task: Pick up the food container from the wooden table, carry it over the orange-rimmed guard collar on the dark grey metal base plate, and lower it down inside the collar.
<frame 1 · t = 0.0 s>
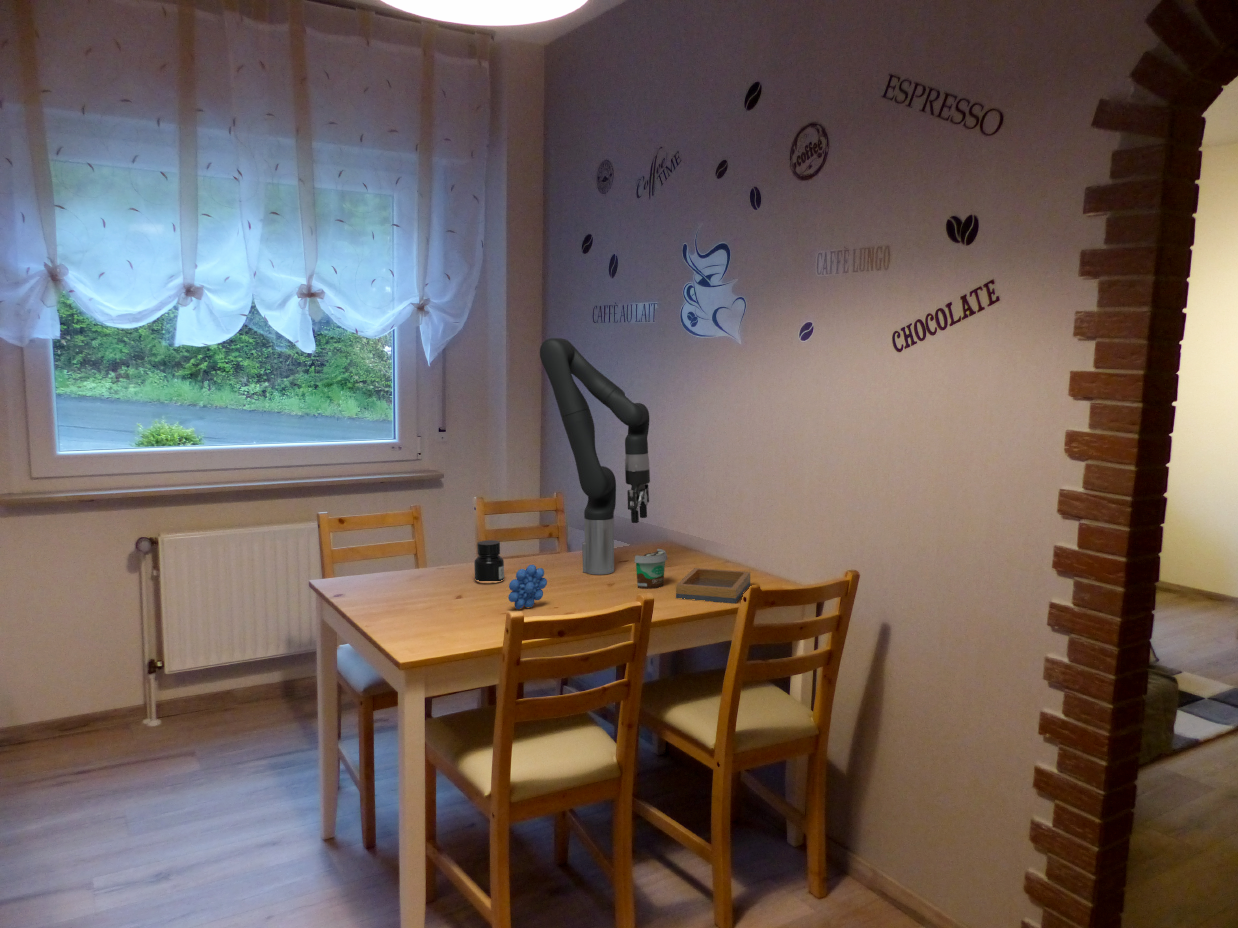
hand: (639, 520, 282), 17 cm above the table, tool pointing down, fingers open, 8 cm apart
food container: (655, 586, 270), on the table
ink bottle: (489, 581, 278), on the table
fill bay: (714, 591, 263), on the table
grapes: (526, 608, 249), on the table
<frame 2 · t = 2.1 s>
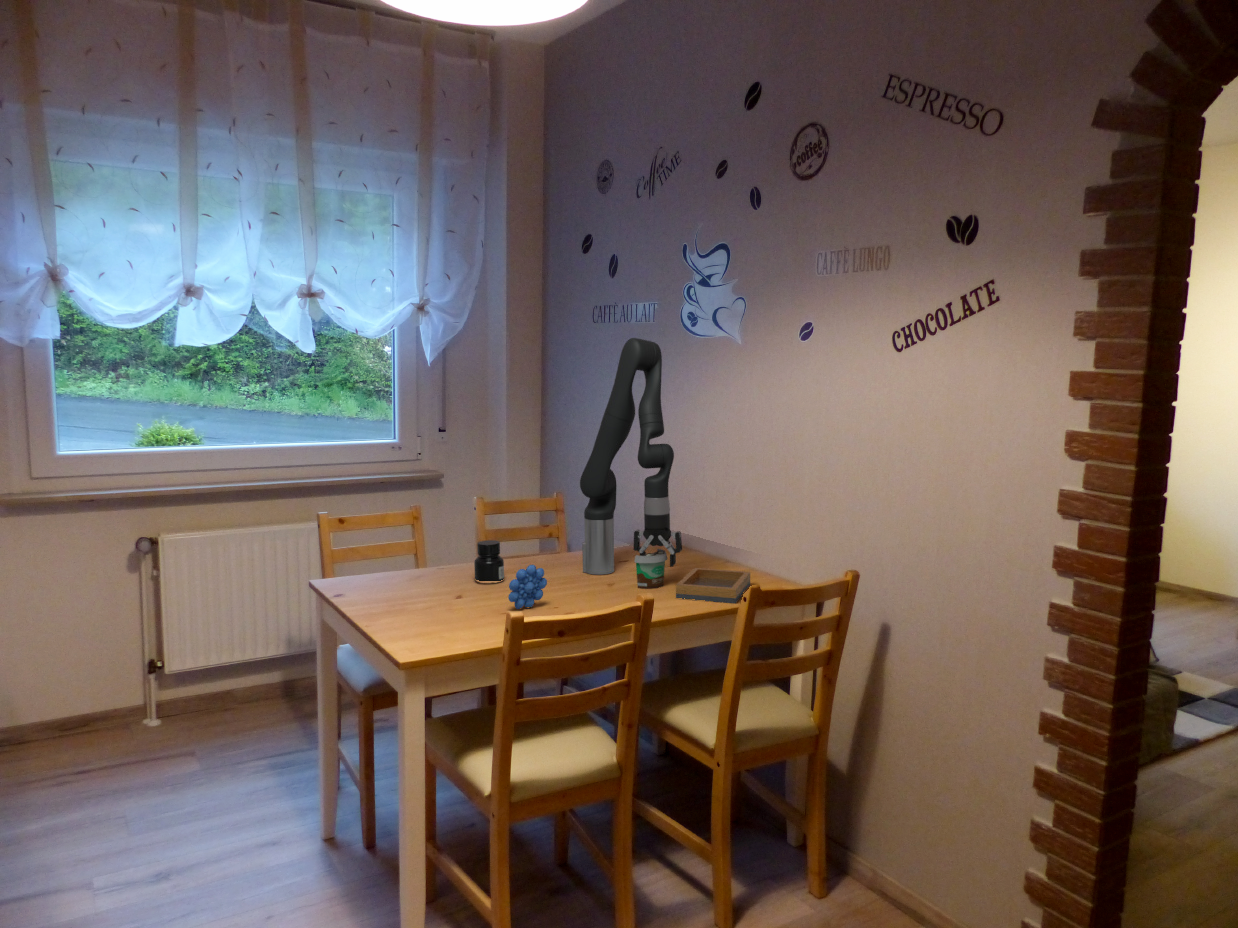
hand: (658, 565, 270), 6 cm above the table, tool pointing down, fingers open, 8 cm apart
food container: (655, 586, 270), on the table, touching gripper
everything else where it was.
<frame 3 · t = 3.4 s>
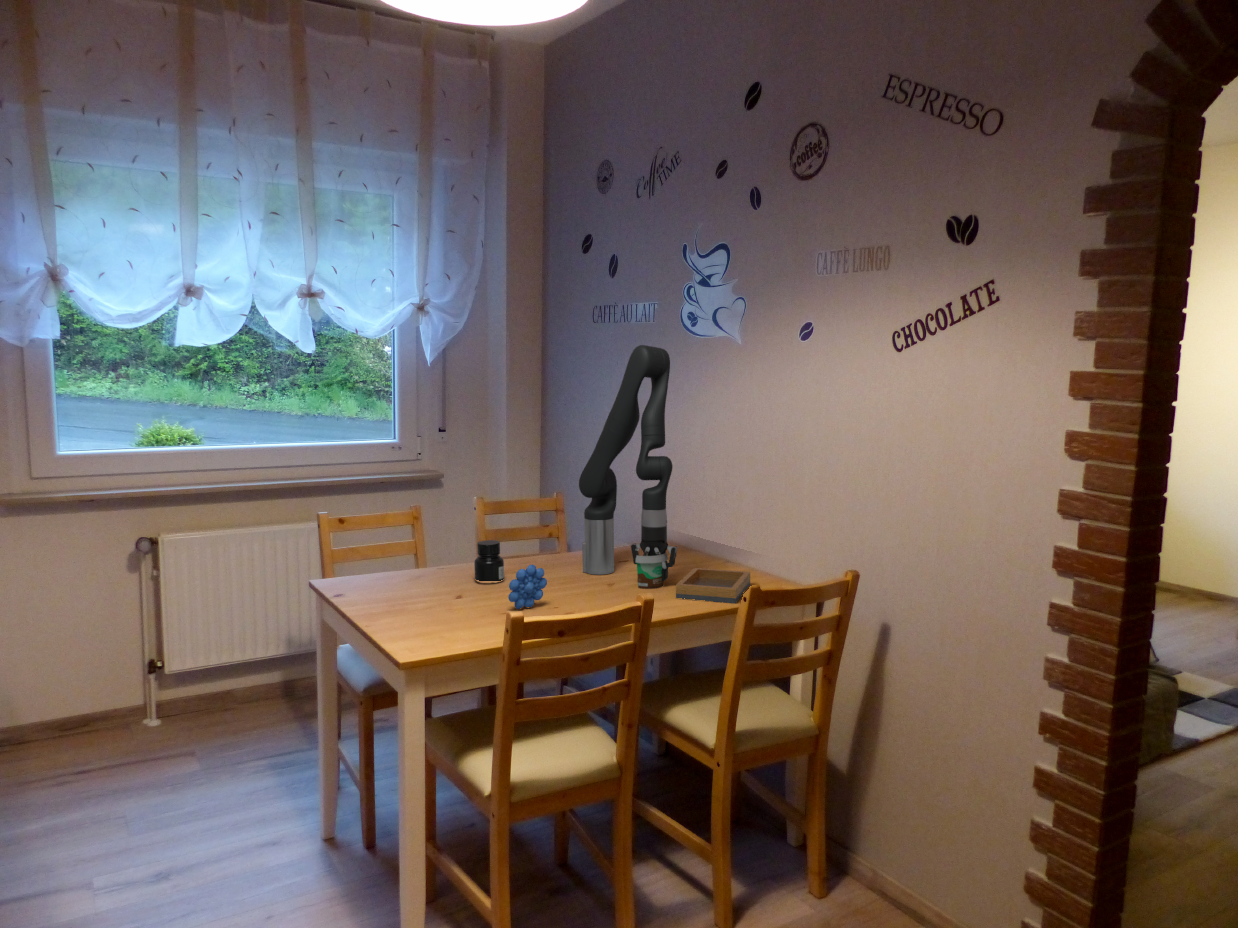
hand: (653, 579, 270), 2 cm above the table, tool pointing down, fingers closed on food container, 5 cm apart
food container: (655, 586, 270), on the table, touching gripper
everything else where it was.
when the fingers open (5 cm above the table, at t = 10.2 s): food container drops 1 cm, resting on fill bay.
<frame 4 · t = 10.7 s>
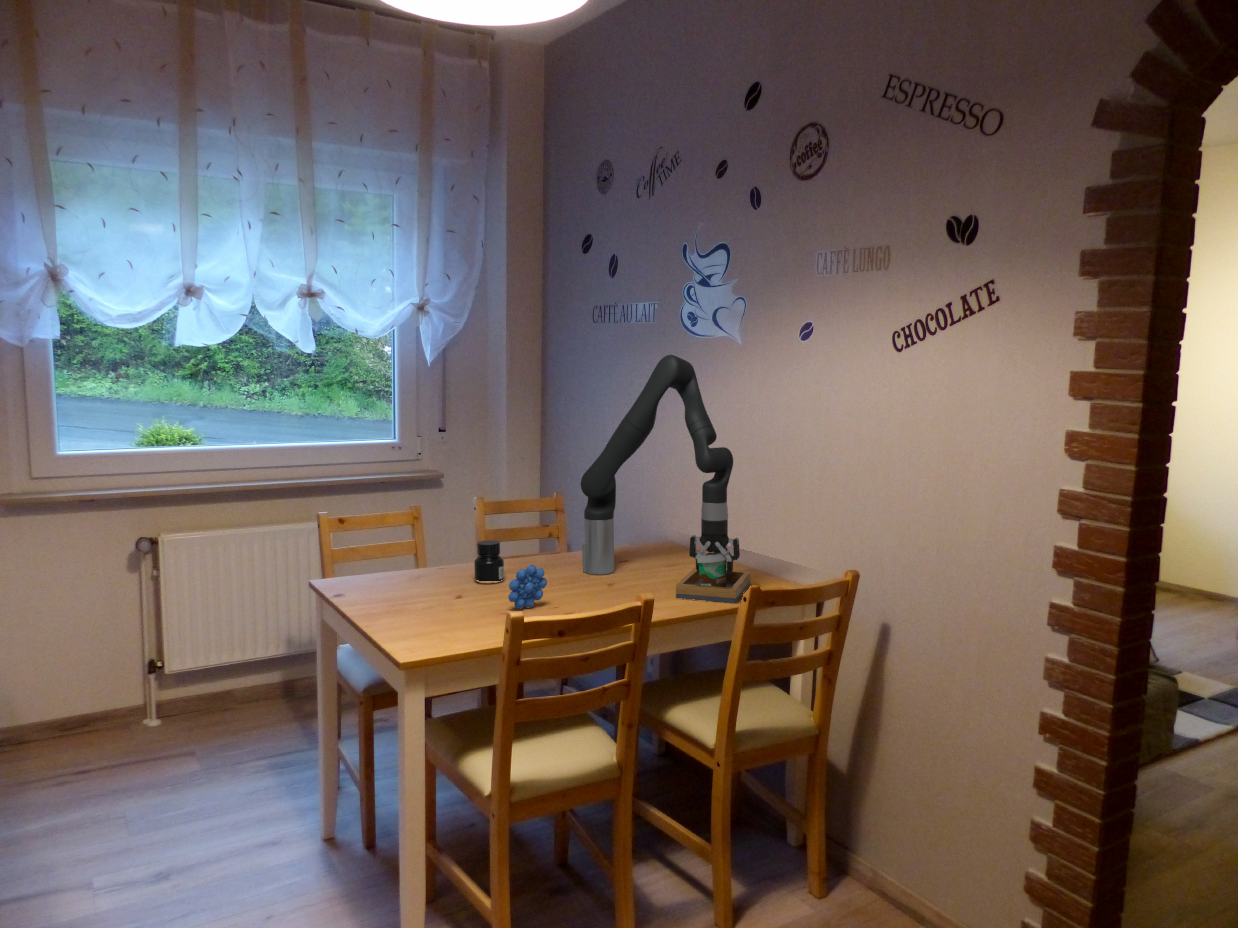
hand: (714, 572, 263), 6 cm above the table, tool pointing down, fingers open, 8 cm apart
food container: (718, 586, 263), point 1 cm above the table, touching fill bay, gripper
everything else where it was.
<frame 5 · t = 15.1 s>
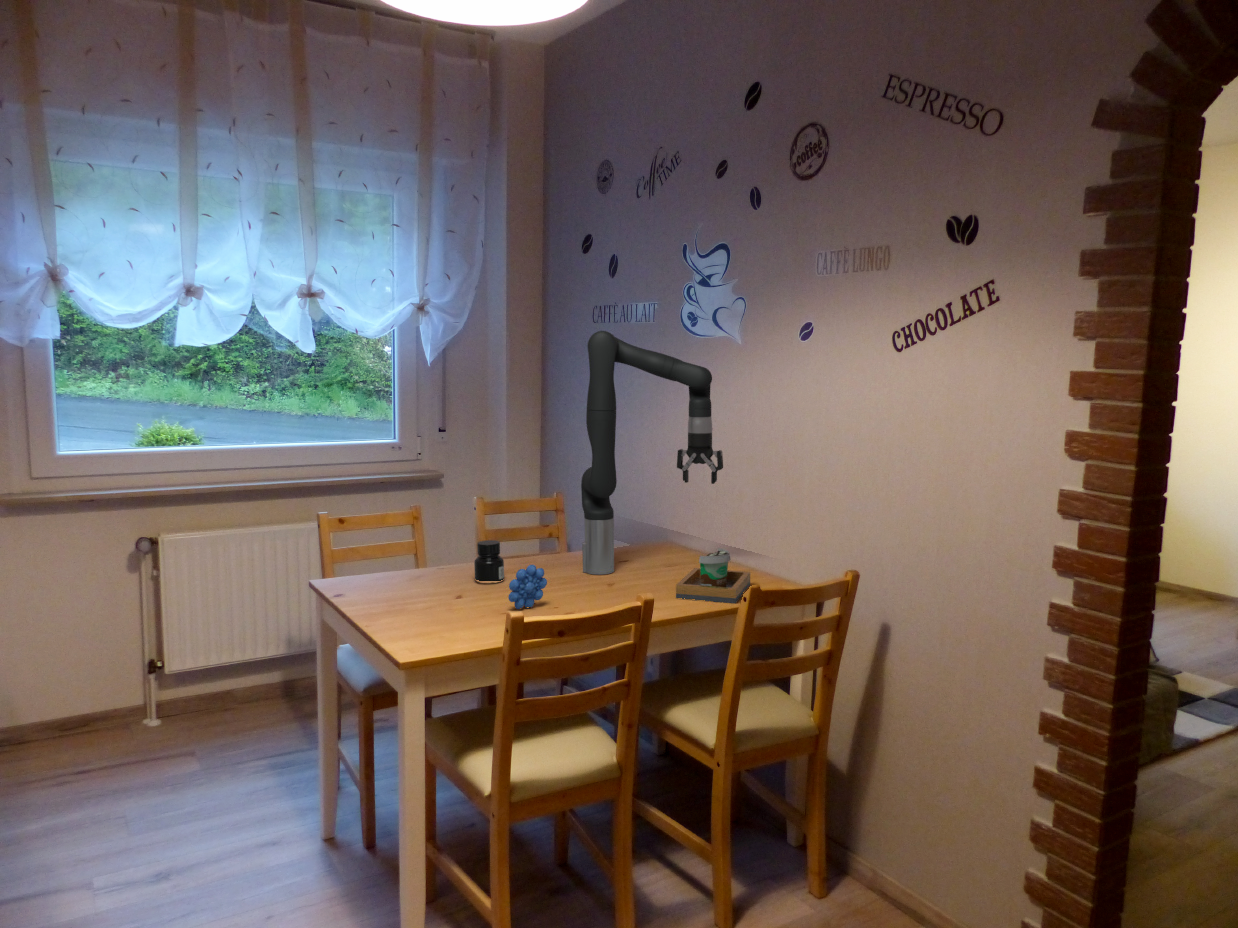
hand: (699, 482, 285), 28 cm above the table, tool pointing down, fingers open, 8 cm apart
food container: (718, 587, 263), point 1 cm above the table, touching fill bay
everything else where it was.
at the end: food container inside the target area on the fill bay (1.3 cm from its centre), point 1.3 cm above the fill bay's base; food container tilted 0°; the gripper is holding nothing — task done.
